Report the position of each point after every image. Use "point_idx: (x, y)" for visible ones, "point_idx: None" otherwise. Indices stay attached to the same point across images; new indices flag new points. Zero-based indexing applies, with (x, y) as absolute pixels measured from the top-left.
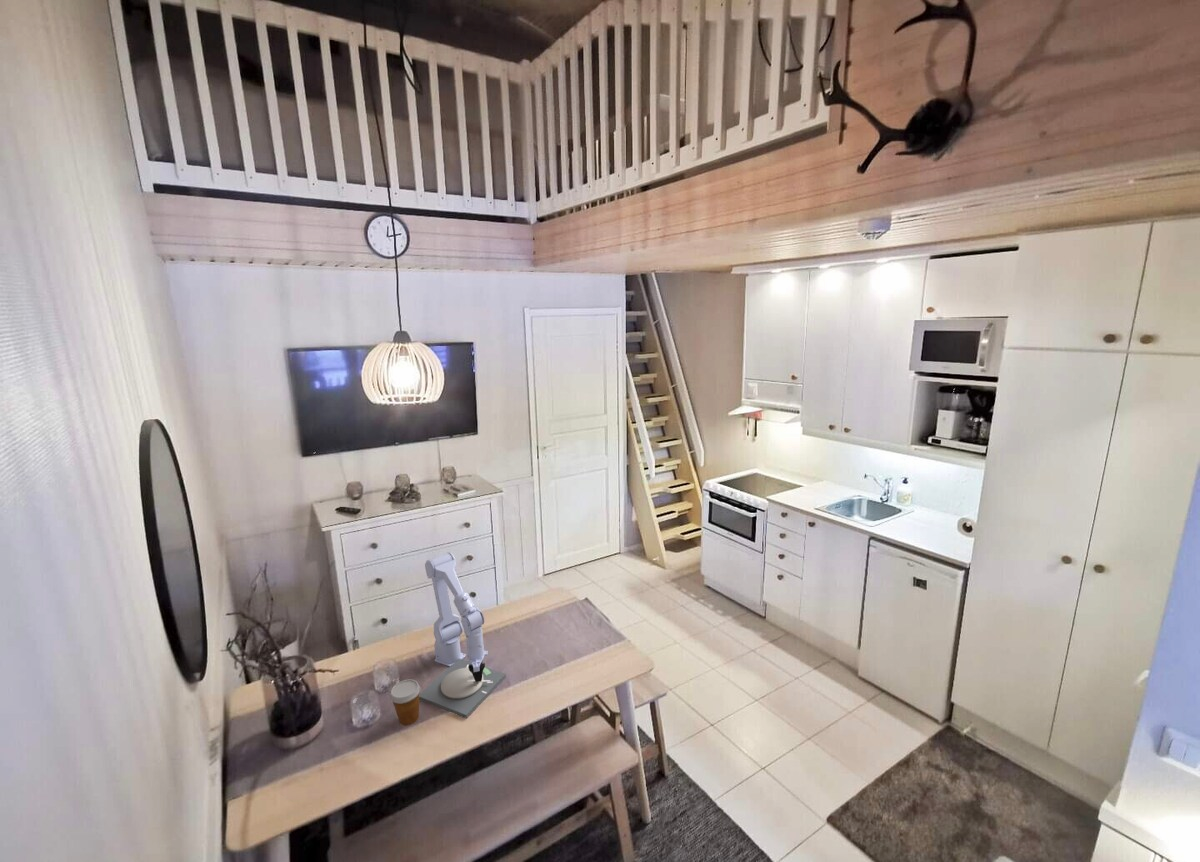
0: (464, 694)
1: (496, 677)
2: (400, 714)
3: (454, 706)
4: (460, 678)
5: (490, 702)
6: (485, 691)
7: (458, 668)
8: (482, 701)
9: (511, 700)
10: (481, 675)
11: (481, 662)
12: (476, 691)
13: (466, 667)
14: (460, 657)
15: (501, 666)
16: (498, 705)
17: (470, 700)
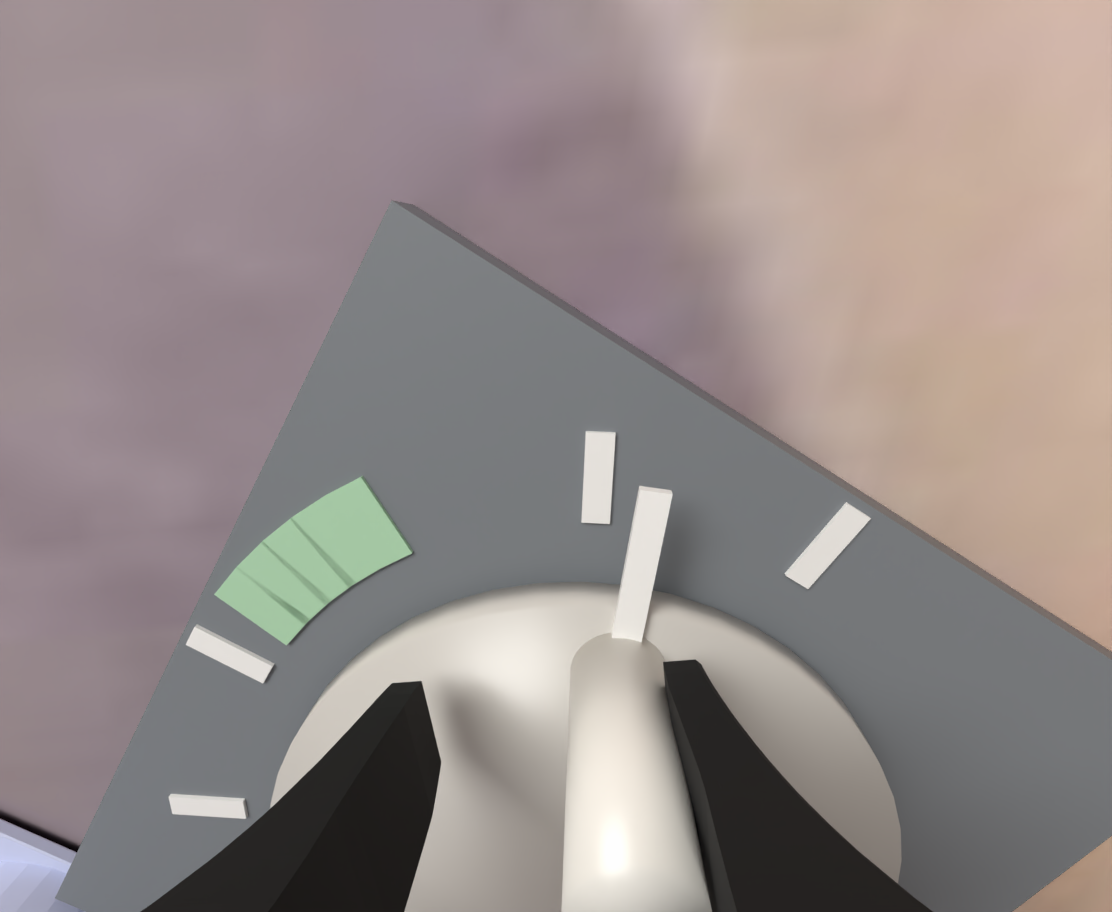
0: (880, 831)
1: (481, 376)
2: None
3: (988, 875)
4: (509, 901)
5: (974, 418)
6: (807, 528)
7: None
8: (931, 537)
9: (1066, 33)
10: (760, 757)
11: (335, 835)
12: (807, 666)
13: (232, 817)
14: (26, 874)
15: (132, 314)
16: (1099, 280)
17: (948, 715)
